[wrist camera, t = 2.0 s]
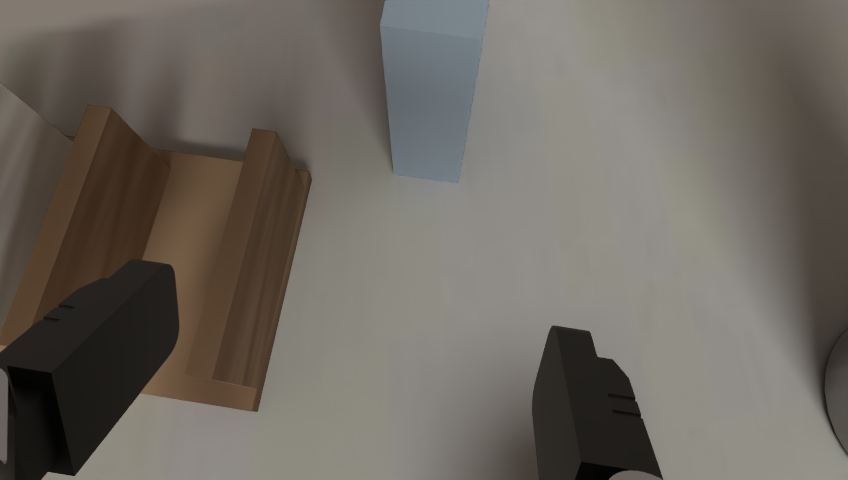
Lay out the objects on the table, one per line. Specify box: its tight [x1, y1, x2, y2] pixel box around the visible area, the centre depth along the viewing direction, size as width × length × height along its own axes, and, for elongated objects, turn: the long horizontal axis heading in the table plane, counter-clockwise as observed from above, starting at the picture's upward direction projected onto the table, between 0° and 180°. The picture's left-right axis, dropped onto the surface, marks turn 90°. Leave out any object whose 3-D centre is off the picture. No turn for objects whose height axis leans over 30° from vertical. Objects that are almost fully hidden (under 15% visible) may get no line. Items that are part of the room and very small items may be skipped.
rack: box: [0, 83, 312, 412], centre depth 24 cm, size 16×12×10 cm
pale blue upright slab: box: [380, 0, 489, 183], centre depth 26 cm, size 4×8×12 cm, turn 171°
